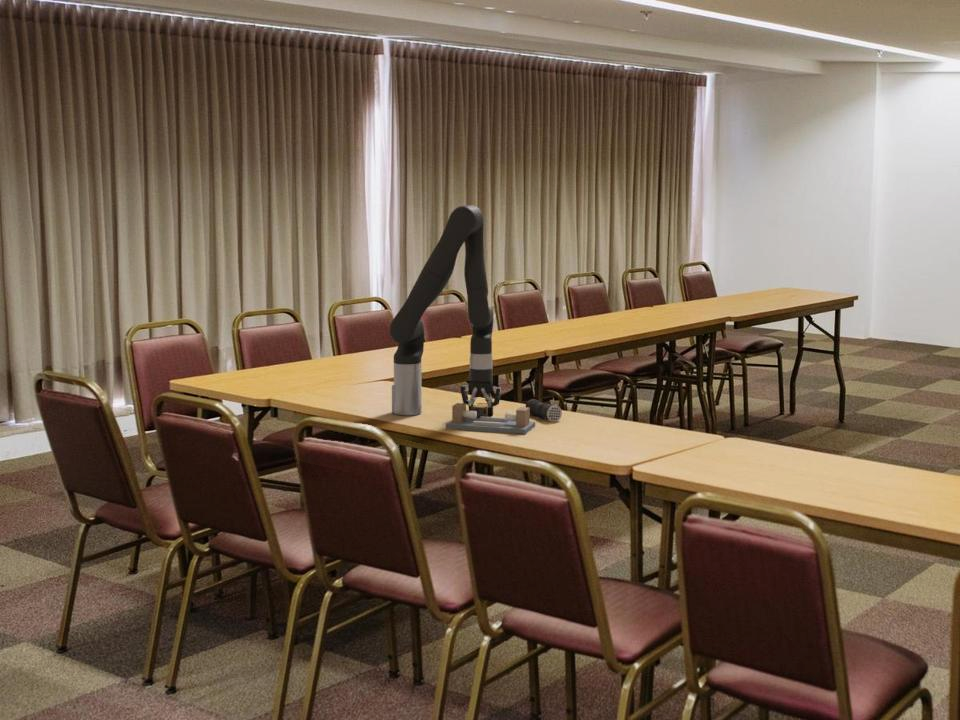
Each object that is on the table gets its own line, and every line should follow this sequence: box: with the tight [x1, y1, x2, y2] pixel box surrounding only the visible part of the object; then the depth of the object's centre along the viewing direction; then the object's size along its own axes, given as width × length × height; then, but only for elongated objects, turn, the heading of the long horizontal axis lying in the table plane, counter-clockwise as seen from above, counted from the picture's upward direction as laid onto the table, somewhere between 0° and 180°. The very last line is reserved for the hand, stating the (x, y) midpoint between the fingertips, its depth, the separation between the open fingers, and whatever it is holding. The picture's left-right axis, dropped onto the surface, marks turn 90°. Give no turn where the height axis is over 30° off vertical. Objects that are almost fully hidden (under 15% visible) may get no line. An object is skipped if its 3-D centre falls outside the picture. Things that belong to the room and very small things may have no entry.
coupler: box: [471, 402, 488, 418], centre depth 379 cm, size 8×4×4 cm, turn 163°
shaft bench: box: [445, 402, 536, 435], centre depth 365 cm, size 26×12×7 cm, turn 73°
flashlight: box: [525, 398, 563, 422], centre depth 382 cm, size 15×5×5 cm, turn 28°
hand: (480, 417), depth 379 cm, fingers open, 5 cm apart
